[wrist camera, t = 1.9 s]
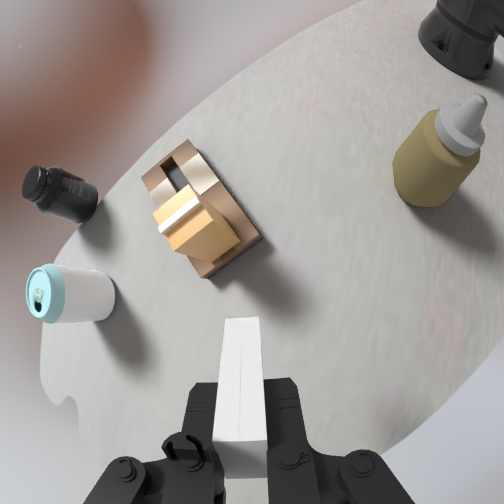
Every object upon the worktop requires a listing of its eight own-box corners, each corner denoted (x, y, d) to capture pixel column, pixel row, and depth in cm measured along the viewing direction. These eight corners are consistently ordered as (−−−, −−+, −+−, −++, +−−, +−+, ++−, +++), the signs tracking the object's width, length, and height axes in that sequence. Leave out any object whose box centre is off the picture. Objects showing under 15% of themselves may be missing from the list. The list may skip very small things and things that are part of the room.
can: (124, 309, 36) (60, 311, 24) (92, 326, 36) (31, 331, 25) (109, 263, 37) (46, 251, 26) (79, 283, 38) (19, 277, 26)
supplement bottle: (79, 182, 41) (29, 156, 29) (105, 186, 39) (51, 157, 28) (66, 220, 40) (13, 202, 29) (91, 228, 39) (33, 208, 27)
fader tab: (243, 243, 32) (210, 218, 22) (215, 264, 33) (170, 249, 22) (224, 216, 33) (185, 181, 22) (197, 237, 34) (148, 212, 23)
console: (262, 238, 33) (258, 233, 31) (208, 278, 34) (200, 277, 31) (195, 147, 37) (187, 138, 34) (150, 183, 38) (140, 177, 35)
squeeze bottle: (417, 146, 31) (469, 53, 13) (453, 197, 29) (533, 129, 12) (372, 171, 32) (412, 71, 14) (409, 228, 30) (489, 165, 12)
